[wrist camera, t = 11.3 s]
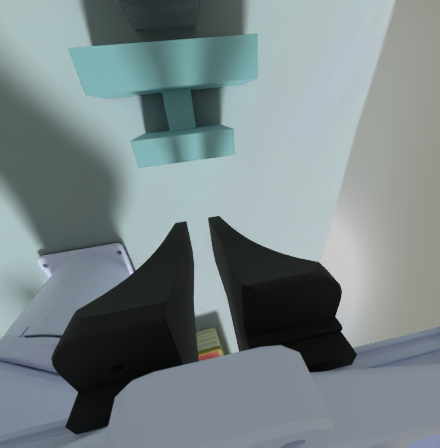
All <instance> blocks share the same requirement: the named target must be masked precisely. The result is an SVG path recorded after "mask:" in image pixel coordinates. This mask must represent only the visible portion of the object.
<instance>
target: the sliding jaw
mask: <svg viewBox="0 0 440 448" xmlns="http://www.w3.org/2000/svg"><path fill="white" fill-rule="evenodd" d="M68 49H69V52H70V55H71V57H72V60H73V63H74V65H75V68H76V71H77V74H78V76H79V79H80V82H81V84H82V87H83V90H84V92H85V95H89V96H95V97H100V98H106V99H107V98H117V97H127V96H136V95H146V94H156V93H162V96H163V101H164V106H165V111H166V116H167V121H168V126H169V131H161V132H152V133H145V134H143V135H141V136H139V137H138V138H136V139H134V140H132V141H130V142H131V145H132V148H133V151H134V155H135V158H136V161H137V165H138V168H142V167H149V166H156V165H164V164H171V163H178V162H186V161H193V160H201V159H208V158H215V157H223V156H230V155H235V148H234V130H233V129H232V128H229V127H226V126H223V125H220V124H219V125H211V126H203V127H196V124H195V117H194V110H193V103H192V96H191V90H196V89H206V88H216V87H226V86H235V85H243V84H245V83H247V82H250V81H252V80H254V79H256V78H257V34H246V35H233V36H220V37H206V38H193V39H180V40H167V41H154V42H141V43H127V44H114V45H101V46H88V47H75V48H68Z"/></svg>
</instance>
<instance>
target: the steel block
mask: <svg viewBox="0 0 440 448" xmlns="http://www.w3.org/2000/svg"><path fill="white" fill-rule="evenodd" d="M118 1H119V3H120V4H121V6H122V8H123V10H124V11H125V13H126V15H127V17H128V18H129V20H130V22H131V24H132V25H133V27H134V29H135V30H144V29H157V28H170V27H183V26H196V23H197V17H198V11H199V5H200V0H118Z"/></svg>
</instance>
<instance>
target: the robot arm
mask: <svg viewBox="0 0 440 448" xmlns="http://www.w3.org/2000/svg"><path fill="white" fill-rule="evenodd" d="M208 220H209V227H210V234H211V241H212V247H213V252H214V257H215V262H216V265H217V268H218V271H219V274H220V277H221V280H222V283H223V286H224V289H225V292H226V295H227V299H228V303H229V307H230V312H231V316H232V321H233V325H234V330H235V334H236V339H237V344H238V348H239V352H237V353H232V354H228V355H224V356H219V357H215V358H211V359H207V360H202V361H199V357H198V347H197V336H196V326H195V314H194V260H193V251H192V246H191V241H190V236H189V232H188V227H187V222H180V223H175V225H174V226H173V227H172V229H171V231H170V232H169V234H168V235H167V237H166V238H165V240H164V241H163V242H162V244H161V245H160V246H159V248H158V249H157V250H156V251H155V253H154V254H153V255H152V256H151V257H150V258H149V259H148V260H147V261H146V262H145V263H144V264H143V265H142V266H141V267H140V268H138V269H137V270H136V271H135V272H134V270H133V268H132V265H131V263H130V261H129V258H128V256H127V254H126V251H125V249H124V247H123V245H122V244H120V243H114V244H108V245H102V246H96V247H90V248H84V249H78V250H72V251H67V252H61V253H55V254H49V255H43V256H40V257H39V258H38V259H37V263H38V264H39V265H40V267H41V268H42V269H43V271H44V272H45V273H46V275H47V276H48V277H49V279H48V281H47V282H46V283H45V284H44V286H43V287H42V288H41V289H40V291H39V292H38V293H37V294H36V296H35V297H34V298H33V299H32V301H31V302H30V303H29V304H28V306H27V307H26V308H25V309H24V311H23V312H22V313H21V314H20V316H19V317H18V318H17V320H16V321H15V322H14V323H13V325H12V326H11V327H10V328H9V330H8V331H7V332H6V333H5V335H4V336H3V337H2V338H1V340H0V448H440V327H436V328H432V329H428V330H424V331H420V332H416V333H412V334H408V335H404V336H400V337H396V338H391V339H387V340H383V341H379V342H375V343H371V344H367V345H363V346H359V347H355V348H352V347H351V345H350V344H349V342H348V341H347V340H346V338H345V337H344V336H343V334H342V333H341V330H342V326H341V324H340V323H339V321H338V320H337V319H336V317H335V315H336V312H337V309H338V306H339V303H340V300H341V294H342V290H341V286H340V284H339V283H338V282H337V281H336V280H335V279H334V278H333V277H332V275H331V274H330V273H329V272H328V271H327V270H326V269H325V268H324V267H323V266H322V265H321V264H320V263H319V262H315V261H310V260H305V259H300V258H296V257H292V256H289V255H285V254H282V253H279V252H276V251H273V250H271V249H268V248H266V247H263V246H261V245H259V244H257V243H255V242H253V241H251V240H249V239H248V238H246V237H244V236H243V235H241V234H240V233H238V232H237V231H236V230H234V229H233V228H232V227H231V226H229V225H228V224H227V223H226V222H225V221H224V220H223V219H222V218H221V217H219V216H216V217H210V218H208ZM118 251H121V253H119V252H118ZM46 264H48V265H46Z"/></svg>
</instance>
